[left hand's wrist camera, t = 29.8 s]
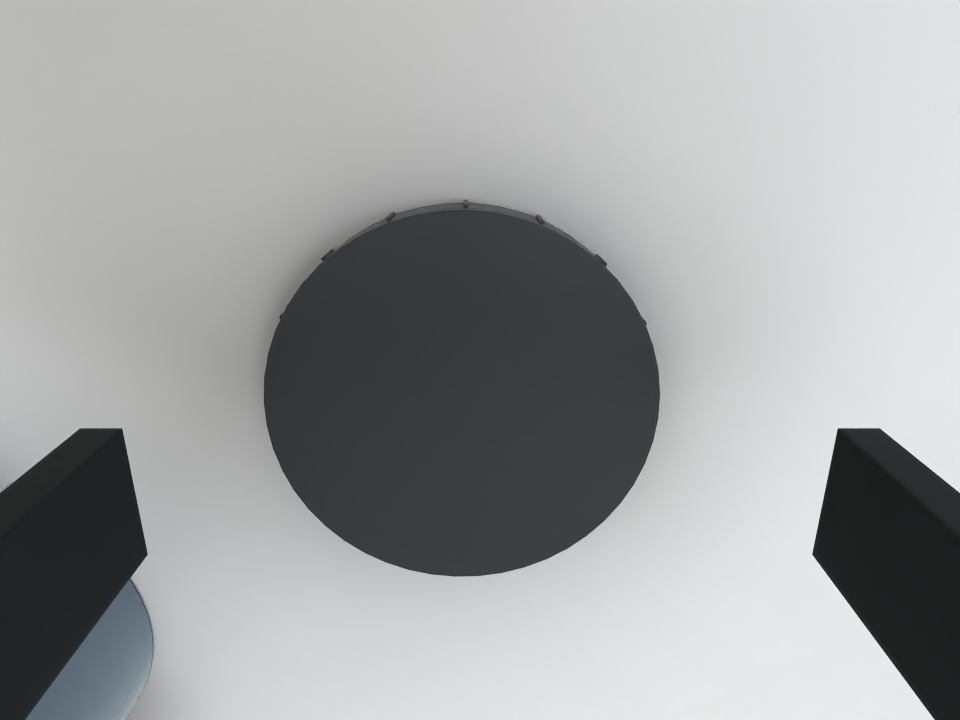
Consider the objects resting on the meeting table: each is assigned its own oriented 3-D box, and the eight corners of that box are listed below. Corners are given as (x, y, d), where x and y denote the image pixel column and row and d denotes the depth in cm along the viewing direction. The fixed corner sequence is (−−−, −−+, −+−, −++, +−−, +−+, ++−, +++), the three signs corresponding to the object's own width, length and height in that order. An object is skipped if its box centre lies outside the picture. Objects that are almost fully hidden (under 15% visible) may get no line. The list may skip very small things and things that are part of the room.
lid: (513, 600, 22) (516, 635, 21) (213, 440, 20) (192, 465, 19) (722, 337, 19) (743, 355, 18) (397, 120, 17) (390, 119, 16)
